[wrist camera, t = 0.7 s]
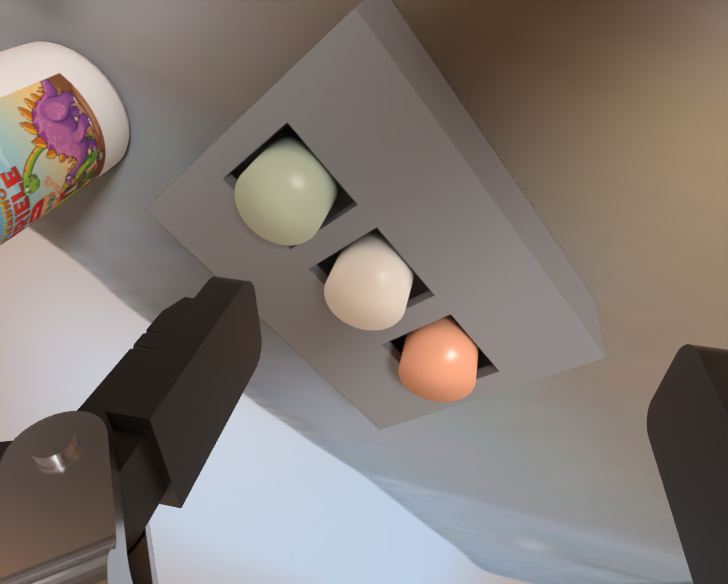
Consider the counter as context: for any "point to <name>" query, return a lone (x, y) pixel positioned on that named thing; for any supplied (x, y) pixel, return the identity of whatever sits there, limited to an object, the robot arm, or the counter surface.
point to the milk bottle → (53, 130)
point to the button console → (390, 222)
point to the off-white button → (369, 283)
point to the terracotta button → (439, 361)
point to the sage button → (286, 192)
